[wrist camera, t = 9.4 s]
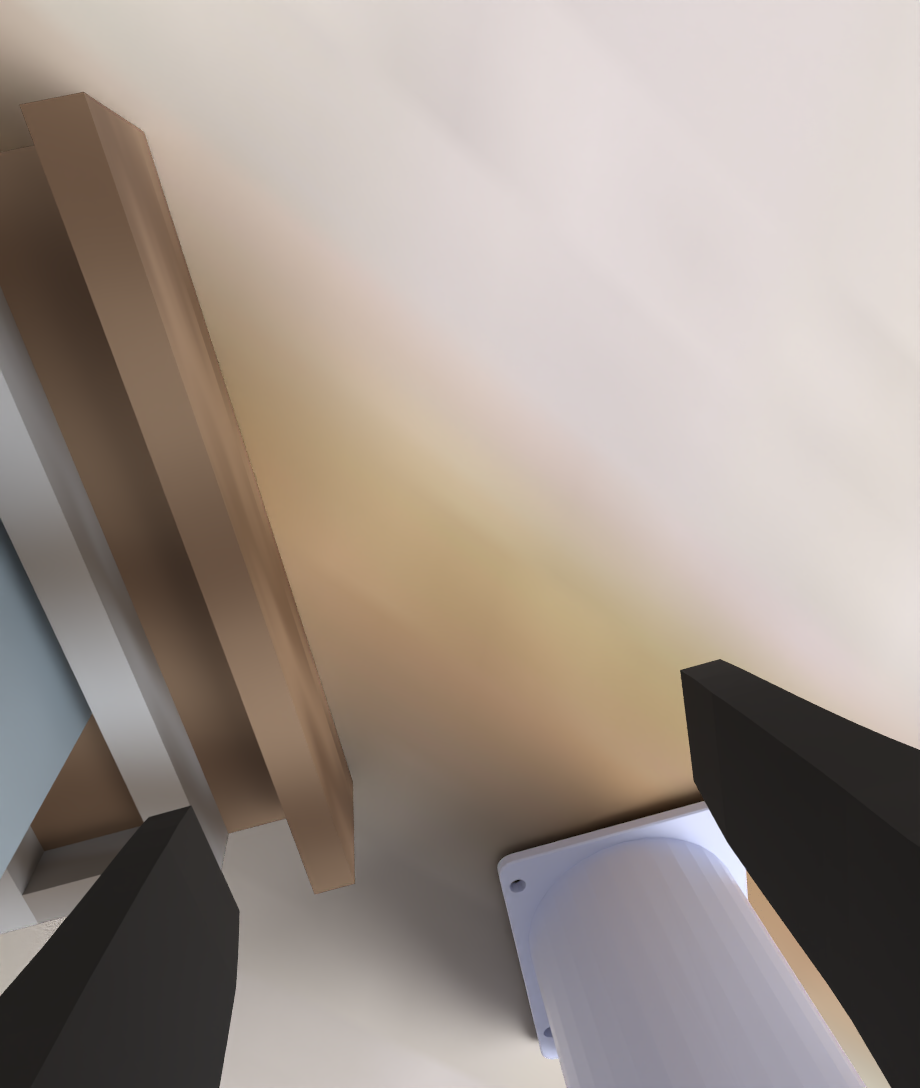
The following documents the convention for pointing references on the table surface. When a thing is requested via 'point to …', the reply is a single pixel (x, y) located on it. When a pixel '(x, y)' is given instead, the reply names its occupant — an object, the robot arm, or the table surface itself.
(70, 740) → the door panel
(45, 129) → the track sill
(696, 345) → the table surface
